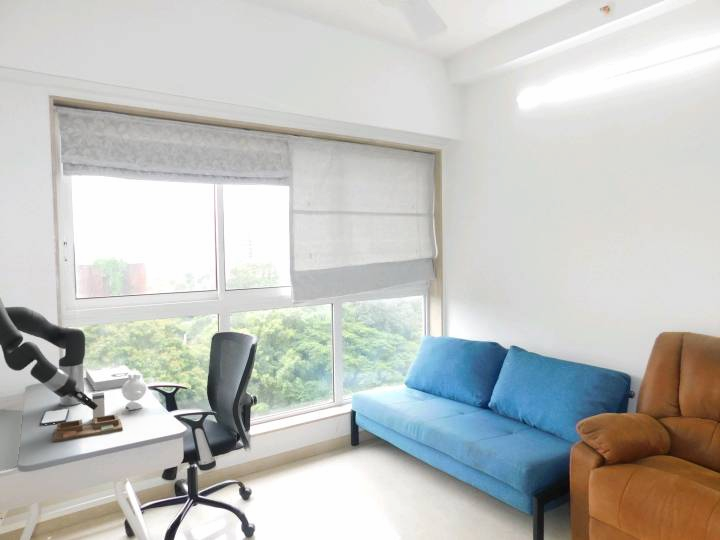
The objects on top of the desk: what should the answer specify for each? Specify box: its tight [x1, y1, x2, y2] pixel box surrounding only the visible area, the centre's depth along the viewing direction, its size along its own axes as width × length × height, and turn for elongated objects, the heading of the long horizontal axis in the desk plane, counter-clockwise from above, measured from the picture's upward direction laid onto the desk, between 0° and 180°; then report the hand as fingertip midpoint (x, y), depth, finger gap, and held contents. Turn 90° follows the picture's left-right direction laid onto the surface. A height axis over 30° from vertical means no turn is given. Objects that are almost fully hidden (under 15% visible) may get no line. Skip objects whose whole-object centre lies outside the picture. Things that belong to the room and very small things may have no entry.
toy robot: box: [120, 373, 147, 411], centre depth 210 cm, size 15×10×15 cm, turn 40°
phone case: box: [39, 408, 70, 426], centre depth 197 cm, size 9×2×16 cm
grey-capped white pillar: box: [91, 392, 106, 422], centre depth 195 cm, size 4×4×10 cm
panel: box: [52, 413, 123, 443], centre depth 182 cm, size 12×22×3 cm, turn 121°
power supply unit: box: [85, 364, 135, 392], centre depth 255 cm, size 19×33×5 cm, turn 35°
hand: (90, 405), depth 193 cm, fingers open, 8 cm apart
